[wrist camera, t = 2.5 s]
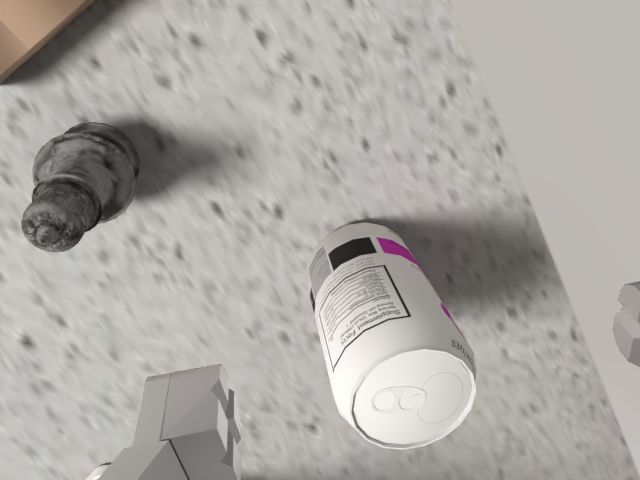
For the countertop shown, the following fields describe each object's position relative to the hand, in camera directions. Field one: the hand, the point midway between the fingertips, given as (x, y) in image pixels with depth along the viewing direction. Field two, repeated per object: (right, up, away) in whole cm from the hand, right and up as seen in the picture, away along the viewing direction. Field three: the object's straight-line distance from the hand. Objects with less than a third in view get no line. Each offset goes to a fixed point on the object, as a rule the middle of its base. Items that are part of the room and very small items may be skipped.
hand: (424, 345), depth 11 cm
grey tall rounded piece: (-17, +7, +25) cm, 31 cm away
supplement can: (+1, 0, +32) cm, 32 cm away
